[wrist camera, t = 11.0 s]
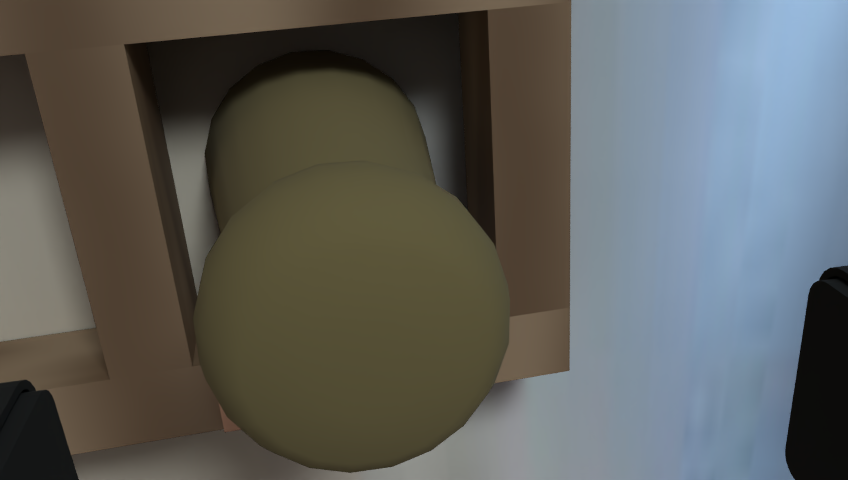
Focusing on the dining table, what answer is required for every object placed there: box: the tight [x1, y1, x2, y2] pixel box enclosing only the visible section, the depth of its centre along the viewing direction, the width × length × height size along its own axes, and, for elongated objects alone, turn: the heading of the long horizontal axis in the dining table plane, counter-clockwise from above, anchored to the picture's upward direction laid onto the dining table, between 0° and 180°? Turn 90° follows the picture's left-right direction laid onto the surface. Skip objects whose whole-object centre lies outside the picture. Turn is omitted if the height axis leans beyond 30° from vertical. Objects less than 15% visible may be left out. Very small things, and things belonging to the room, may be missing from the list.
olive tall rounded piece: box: [193, 50, 510, 473], centre depth 17 cm, size 6×6×11 cm
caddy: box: [0, 0, 571, 455], centre depth 19 cm, size 22×12×3 cm, turn 94°
